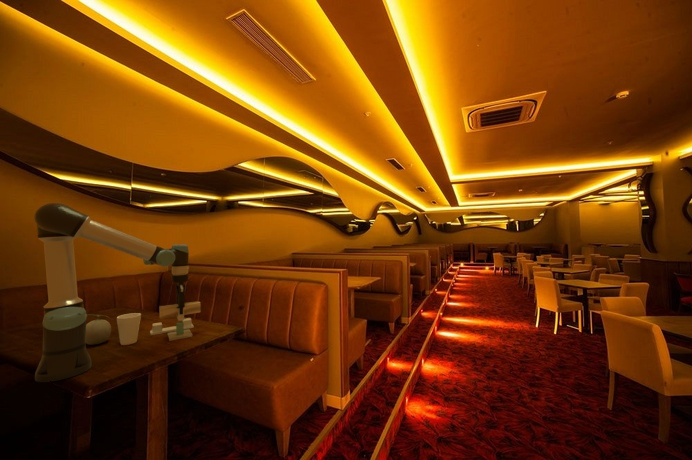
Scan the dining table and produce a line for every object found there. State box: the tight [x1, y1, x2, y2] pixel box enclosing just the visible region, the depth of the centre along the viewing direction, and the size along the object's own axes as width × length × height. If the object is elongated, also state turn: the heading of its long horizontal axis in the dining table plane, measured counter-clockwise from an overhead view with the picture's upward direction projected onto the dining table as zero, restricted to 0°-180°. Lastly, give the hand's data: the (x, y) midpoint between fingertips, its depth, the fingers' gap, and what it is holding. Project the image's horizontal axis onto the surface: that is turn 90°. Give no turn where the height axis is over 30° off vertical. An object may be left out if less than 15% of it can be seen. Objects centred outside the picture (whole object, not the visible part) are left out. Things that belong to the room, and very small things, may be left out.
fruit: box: [86, 313, 112, 346], centre depth 137 cm, size 10×12×15 cm
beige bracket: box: [149, 317, 195, 336], centre depth 156 cm, size 6×20×4 cm, turn 127°
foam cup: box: [116, 312, 142, 346], centre depth 138 cm, size 10×9×13 cm
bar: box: [158, 301, 202, 319], centre depth 146 cm, size 5×18×5 cm, turn 127°
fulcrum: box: [167, 321, 193, 342], centre depth 146 cm, size 10×10×7 cm
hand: (180, 319), depth 146 cm, fingers closed on bar, 5 cm apart
